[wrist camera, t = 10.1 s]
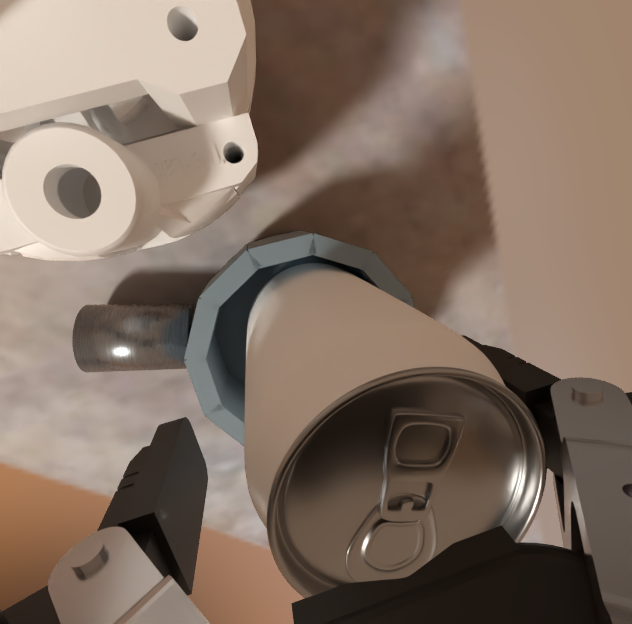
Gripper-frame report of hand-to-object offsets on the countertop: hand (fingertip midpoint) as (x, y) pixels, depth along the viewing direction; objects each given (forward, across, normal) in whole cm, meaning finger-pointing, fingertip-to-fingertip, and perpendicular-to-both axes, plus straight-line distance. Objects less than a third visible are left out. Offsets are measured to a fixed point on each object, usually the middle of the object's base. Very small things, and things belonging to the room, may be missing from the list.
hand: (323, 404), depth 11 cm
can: (+8, -1, 0) cm, 8 cm away
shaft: (+8, +7, -2) cm, 11 cm away
